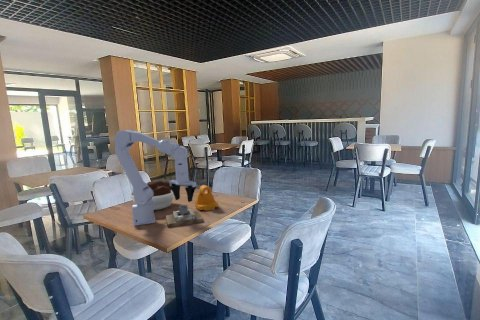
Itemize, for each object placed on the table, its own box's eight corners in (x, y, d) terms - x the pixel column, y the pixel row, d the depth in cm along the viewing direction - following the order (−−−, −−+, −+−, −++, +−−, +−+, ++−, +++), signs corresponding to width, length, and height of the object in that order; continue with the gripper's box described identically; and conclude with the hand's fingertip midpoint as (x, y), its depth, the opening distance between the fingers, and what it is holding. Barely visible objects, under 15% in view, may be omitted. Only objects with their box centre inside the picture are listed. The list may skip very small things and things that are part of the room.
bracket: (200, 211, 135) (198, 189, 133) (195, 208, 141) (194, 186, 139) (218, 207, 140) (217, 186, 138) (213, 204, 146) (212, 183, 144)
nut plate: (167, 227, 115) (167, 220, 115) (165, 218, 127) (165, 211, 126) (203, 221, 121) (202, 214, 120) (198, 213, 132) (198, 206, 131)
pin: (184, 222, 121) (183, 207, 120) (177, 221, 123) (176, 206, 122) (189, 219, 124) (189, 205, 123) (183, 218, 126) (182, 204, 125)
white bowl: (141, 219, 127) (138, 189, 124) (125, 207, 146) (123, 181, 144) (187, 207, 142) (185, 180, 140) (167, 198, 161) (166, 174, 159)
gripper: (164, 172, 121) (166, 201, 123) (188, 174, 114) (190, 204, 116) (174, 170, 127) (176, 197, 129) (198, 171, 120) (200, 200, 122)
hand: (183, 200), depth 123 cm, fingers open, 7 cm apart
